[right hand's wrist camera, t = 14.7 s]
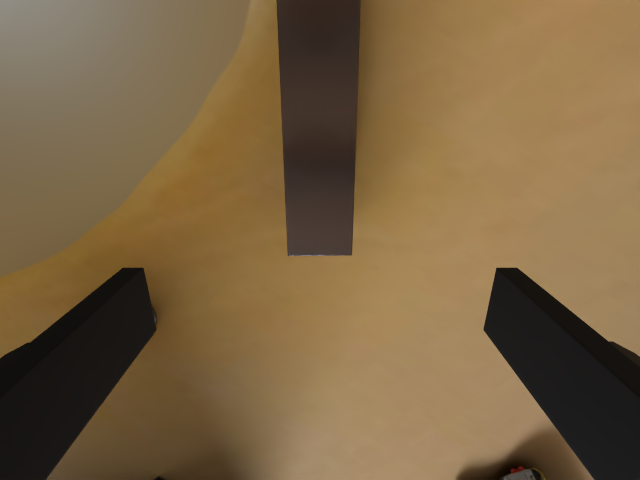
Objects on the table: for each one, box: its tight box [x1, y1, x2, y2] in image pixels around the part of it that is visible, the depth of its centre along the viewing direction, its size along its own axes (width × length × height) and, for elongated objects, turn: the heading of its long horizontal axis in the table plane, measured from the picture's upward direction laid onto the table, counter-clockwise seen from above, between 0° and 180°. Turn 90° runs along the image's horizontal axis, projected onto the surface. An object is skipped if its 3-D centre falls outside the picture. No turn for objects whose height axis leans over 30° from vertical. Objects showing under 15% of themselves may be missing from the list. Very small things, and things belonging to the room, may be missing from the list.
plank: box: [277, 0, 361, 256], centre depth 24 cm, size 30×5×8 cm, turn 0°
